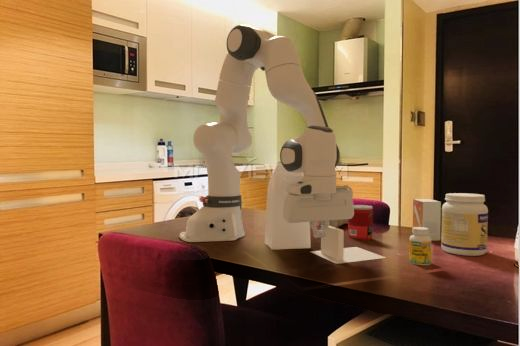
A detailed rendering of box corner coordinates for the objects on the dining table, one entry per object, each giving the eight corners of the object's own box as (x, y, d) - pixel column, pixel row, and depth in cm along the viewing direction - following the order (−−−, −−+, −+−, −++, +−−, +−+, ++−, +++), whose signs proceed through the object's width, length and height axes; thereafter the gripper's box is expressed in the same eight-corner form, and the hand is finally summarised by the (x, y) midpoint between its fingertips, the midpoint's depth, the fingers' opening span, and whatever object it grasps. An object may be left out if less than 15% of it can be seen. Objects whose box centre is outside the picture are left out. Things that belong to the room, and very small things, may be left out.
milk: (300, 241, 138) (301, 162, 136) (310, 249, 126) (311, 163, 125) (264, 243, 135) (264, 162, 134) (271, 251, 124) (271, 163, 123)
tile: (338, 260, 112) (338, 230, 111) (320, 252, 120) (321, 225, 120) (343, 259, 112) (344, 230, 112) (326, 252, 121) (326, 224, 120)
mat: (336, 265, 108) (336, 263, 108) (309, 253, 121) (309, 251, 121) (386, 259, 115) (386, 257, 115) (356, 248, 127) (356, 246, 127)
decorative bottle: (333, 222, 174) (333, 206, 174) (351, 224, 171) (351, 208, 170) (308, 233, 152) (309, 214, 151) (328, 235, 148) (329, 216, 148)
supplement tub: (486, 259, 116) (488, 197, 115) (438, 253, 122) (439, 195, 121) (487, 249, 126) (488, 193, 125) (443, 245, 132) (444, 191, 131)
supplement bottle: (430, 262, 111) (431, 227, 111) (431, 268, 106) (431, 230, 106) (409, 261, 113) (409, 225, 113) (408, 266, 108) (409, 229, 108)
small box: (412, 235, 147) (412, 198, 146) (429, 235, 147) (430, 198, 146) (421, 240, 139) (422, 201, 138) (440, 240, 139) (441, 201, 138)
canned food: (373, 241, 138) (373, 208, 137) (348, 240, 139) (348, 207, 139) (371, 236, 145) (372, 205, 145) (348, 235, 147) (348, 204, 146)
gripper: (345, 184, 120) (345, 232, 121) (280, 186, 113) (280, 237, 113) (359, 185, 114) (358, 236, 115) (291, 188, 107) (291, 242, 107)
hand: (319, 237), depth 114 cm, fingers closed
